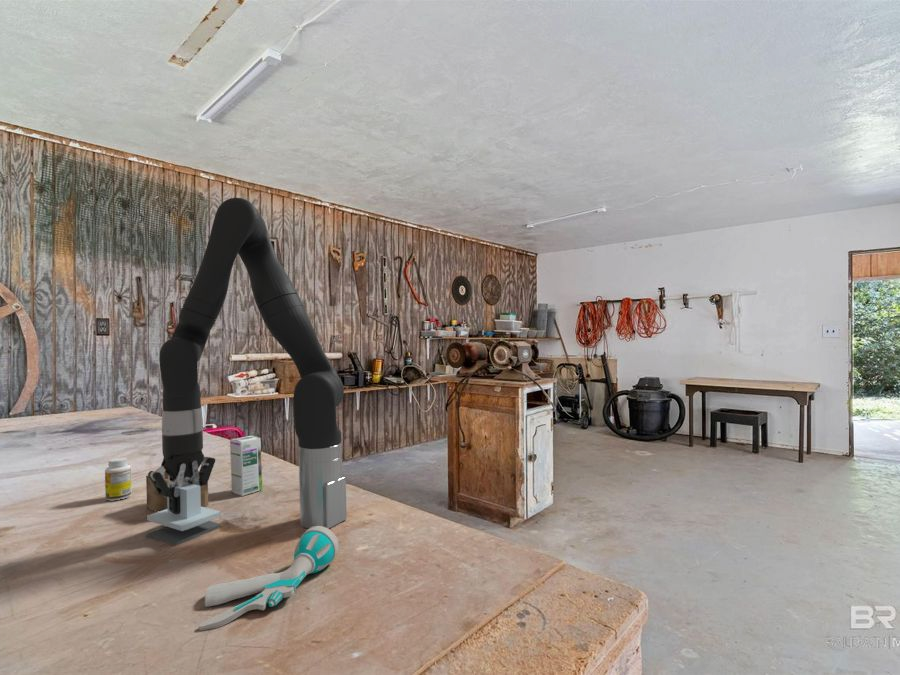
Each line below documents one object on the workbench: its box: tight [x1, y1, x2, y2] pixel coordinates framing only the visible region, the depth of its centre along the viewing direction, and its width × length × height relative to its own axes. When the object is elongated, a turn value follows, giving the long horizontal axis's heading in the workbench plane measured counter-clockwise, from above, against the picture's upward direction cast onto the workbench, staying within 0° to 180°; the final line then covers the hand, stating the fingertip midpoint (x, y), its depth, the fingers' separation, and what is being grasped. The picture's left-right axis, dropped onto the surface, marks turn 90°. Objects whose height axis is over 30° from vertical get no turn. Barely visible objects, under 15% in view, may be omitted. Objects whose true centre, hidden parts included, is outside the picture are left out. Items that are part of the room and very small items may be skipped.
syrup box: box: [229, 435, 263, 497], centre depth 122 cm, size 6×6×14 cm
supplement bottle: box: [104, 457, 133, 502], centre depth 119 cm, size 6×6×10 cm
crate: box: [145, 470, 209, 512], centre depth 112 cm, size 12×8×8 cm, turn 62°
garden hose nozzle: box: [198, 526, 340, 631], centre depth 74 cm, size 7×18×20 cm
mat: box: [146, 520, 222, 546], centre depth 97 cm, size 10×10×1 cm
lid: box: [146, 482, 222, 531], centre depth 97 cm, size 12×8×8 cm
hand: (184, 510), depth 97 cm, fingers closed on lid, 3 cm apart
